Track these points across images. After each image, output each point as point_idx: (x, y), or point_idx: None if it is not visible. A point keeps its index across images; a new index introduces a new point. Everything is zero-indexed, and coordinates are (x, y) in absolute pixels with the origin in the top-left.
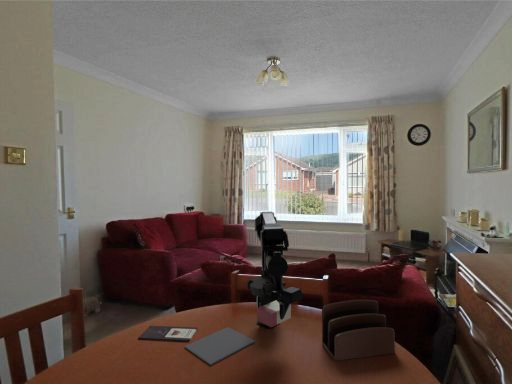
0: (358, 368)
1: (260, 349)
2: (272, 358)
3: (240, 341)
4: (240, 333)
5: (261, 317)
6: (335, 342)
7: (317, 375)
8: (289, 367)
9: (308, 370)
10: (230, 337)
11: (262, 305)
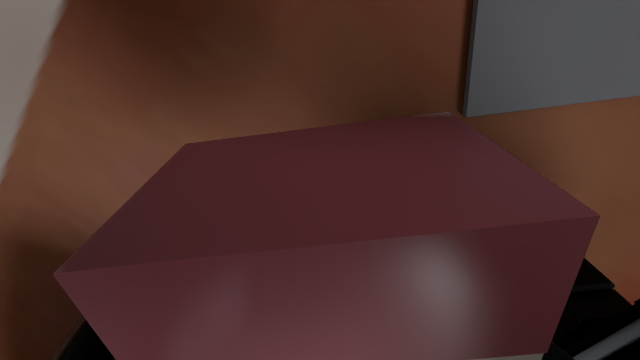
0: (39, 297)
1: (384, 92)
2: (269, 88)
3: (539, 37)
4: (600, 99)
5: (380, 150)
6: (58, 349)
7: (42, 163)
8: (152, 104)
9: (93, 158)
10: (637, 9)
11: (634, 344)
